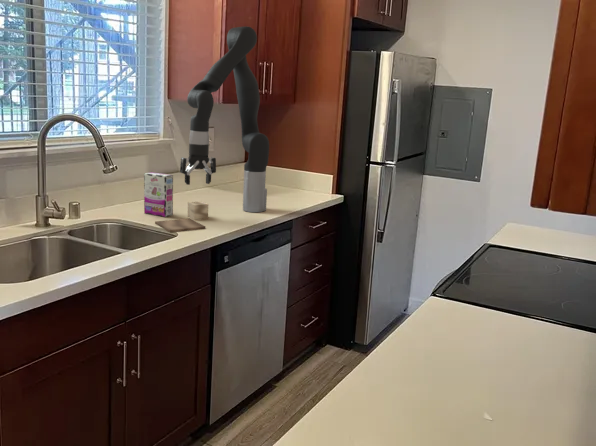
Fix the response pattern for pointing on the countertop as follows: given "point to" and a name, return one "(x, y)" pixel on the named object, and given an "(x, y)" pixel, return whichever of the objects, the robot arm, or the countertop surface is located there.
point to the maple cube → (197, 210)
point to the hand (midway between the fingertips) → (197, 184)
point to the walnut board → (179, 225)
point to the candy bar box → (158, 194)
